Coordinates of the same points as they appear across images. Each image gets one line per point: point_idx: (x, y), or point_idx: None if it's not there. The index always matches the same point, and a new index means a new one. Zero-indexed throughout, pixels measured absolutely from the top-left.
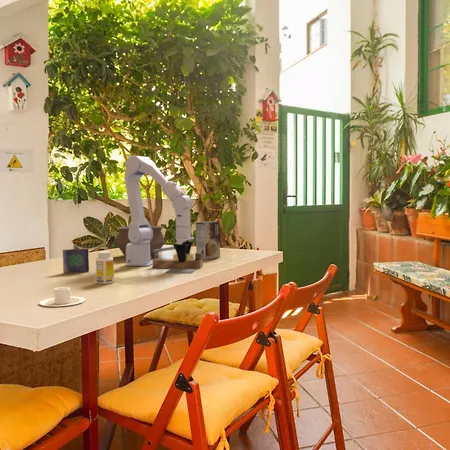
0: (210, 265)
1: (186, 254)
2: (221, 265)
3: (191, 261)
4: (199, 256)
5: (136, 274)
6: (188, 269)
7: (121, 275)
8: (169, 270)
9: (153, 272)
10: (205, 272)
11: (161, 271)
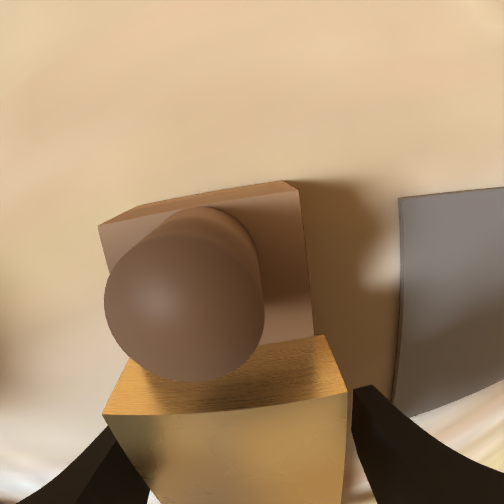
0: (44, 150)
1: (288, 465)
2: (34, 42)
3: (312, 327)
4: (240, 242)
5: (500, 451)
6: (432, 271)
7: (500, 471)
8: (462, 389)
9: (473, 434)
10: (497, 74)
11: (451, 423)
